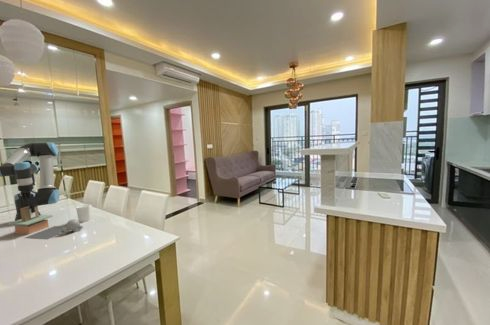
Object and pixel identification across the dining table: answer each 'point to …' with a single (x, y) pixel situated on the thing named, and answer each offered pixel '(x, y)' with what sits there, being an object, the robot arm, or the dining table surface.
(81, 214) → the candle holder
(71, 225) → the round bodied animal figurine
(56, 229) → the mat
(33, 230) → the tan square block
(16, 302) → the dining table surface
